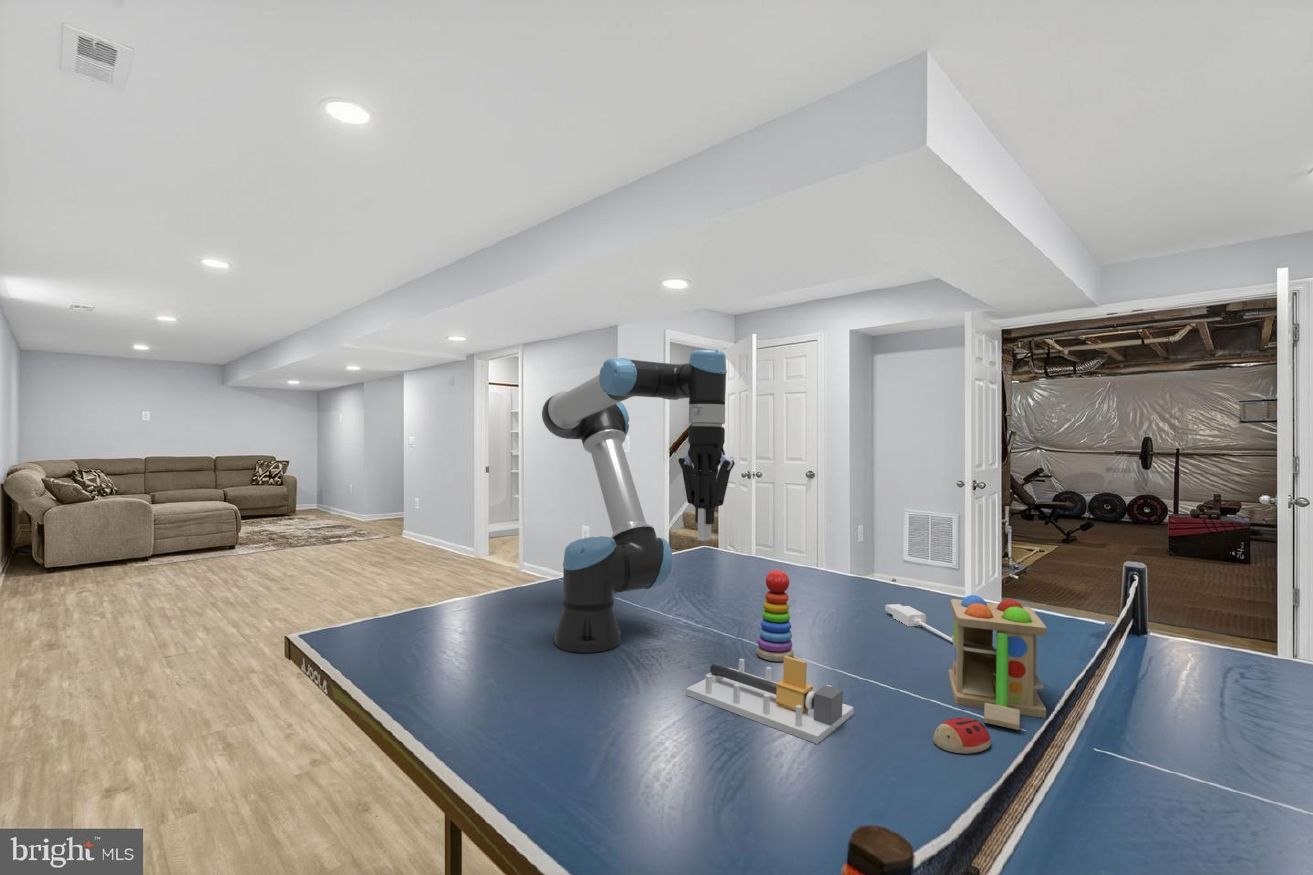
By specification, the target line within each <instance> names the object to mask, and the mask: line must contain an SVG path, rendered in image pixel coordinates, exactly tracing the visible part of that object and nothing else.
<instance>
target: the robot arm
mask: <svg viewBox="0 0 1313 875" xmlns="http://www.w3.org/2000/svg"><path fill="white" fill-rule="evenodd" d="M689 355H690V356H689V361H688V363H680V364H679V363H677V364H676V363H668V362H667V363H666V362H655V361H646V360H640V359H639V360H636V359H631V358H630V359H629V358H625V357H624V358H623V357H621V358H613V357H612V358H608V359H606V360H605V361H604V362H603V363H602V366H601V368H600V370H599V374H598V375H595V376H594V377H593V378H590V379H589V380H587V381H585V382H583V383H582V384H580V385H578V386H576V387H574V388H573V389H571V390H569V391H560V392H556V393H555V394H553V395H552V396H550V397H549V398H548V399H546V401H545V403H544V404H543V407H542V409H541V410H542V411H541V418H542V422H543V424H544V426H545V428H546V429H547V431H549V432H550V433H551V434H552V435H554V436H556V437H558V438H562V439H565V440H581V442H582V446H583V449H584V450H585V451H586V452H588V453H590V455H591V457H592V462H593V464H594V469H595V472H596V475H597V480H598V482H599V487H600V490H601V494H602V498H603V501H604V505H605V508H606V512H607V515H608V519H609V523H610V524H609V525H610V527H611V531H612V535H611V536H601V535H600V536H596V537H595V536H591V537H590V536H589V537H585V538H580V539H577V540H574V541H571V542H570V543H569V544H567V546H566V547H565V549H564V555H563V562H562V567H563V574H562V576H563V578H562V579H563V584H562V585H563V586H562V589H563V590H562V591H563V592H562V593H563V594H562V595H563V596H562V597H563V598H562V611H561V613H560V618H559V621H558V625H557V627H556V628H555V631H554V645H555V646H556V647H557V648H559V649H561V650H564V651H566V652H573V653H579V654H580V653H581V654H585V653H587V654H589V653H590V654H591V653H601V652H605V651H610V650H612V649H614V648H616V647H618V646H619V645H621V641H622V631H621V628H620V626H619V621H618V619H617V614H616V611H615V604H614V603H615V594H616V593H624V592H629V591H630V592H632V591H638V590H644V589H645V590H649V589H651V588H655V587H661V586H662V585H663V584H665V583H666V582H667V580H668V579H669V577H670V575H671V570H672V567H673V552H672V548H671V546H670V543H669V542H668V541H667V540H666V539H665V538H662V537H657V533H656V529H655V528H654V526H652V525H650V524H649V523H647V522H646V518H645V516H644V511H643V508H642V506H641V502H640V498H639V496H638V493H637V489H636V488H637V487H636V486H635V482H634V479H633V476H632V472H631V469H630V465H629V463H628V458H627V456H626V452H625V449H624V446H623V444H624V442H625V441H626V438H627V437H626V436H627V435H628V433H629V428H630V424H629V422H630V417H629V413H628V410H627V407H625V405H624V404H623V402H622V401H625V400H628V399H630V398H633V397H645V398H660V399H664V400H668V401H669V400H670V401H671V400H672V401H678V400H679V399H680V400H681V399H682V400H683V399H688V423H689V424H690V425H691V426H689V427H688V432H687V433H688V435H687V437H688V438H687V439H688V440H687V442H688V445H689V449H688V451H687V454H686V455H685V456H684V457H680V458H678V464H679V466H680V468H681V472H682V477H683V484H684V490H685V493H686V494H685V495H686V500H687V501H686V502H687V504H690V505H692V506H694V507H695V510H694V512H695V514H694V516H695V517H694V518H695V519H694V520H695V523H697V541H702V542H704V541H709V540H712V525H714V523H715V510H716V508H717V507H720V506H723V505H724V501H725V497H726V492H727V488H728V484H729V479H730V476H731V475H730V474H731V471H732V469H733V468H734V466H735V464H736V463H735V460H733V459H729V458H728V457H727V456H726V453H725V450H724V446H725V445H724V444H725V439H726V438H725V436H726V430H725V429H726V428H725V427H724V426H723V425H724V424H725V423H726V391H727V389H726V386H727V373H728V370H727V357H726V354H725V353H724V352H723V351H722V350H716V349H698V350H697V349H696V350H692V352H691V353H690V354H689Z"/></svg>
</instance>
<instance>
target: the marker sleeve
mask: <svg viewBox="0 0 1313 875" xmlns="http://www.w3.org/2000/svg"><path fill="white" fill-rule="evenodd" d="M782 664H783V665H782V666H783V667H782V668H783V672H782V673H783V674H782V680H781V681H778V682H776V683H777V688H776V704H778V705H781V706H784V707H787V708H790V709H793V710H796V706H797V705H800V706H803V707H802V713H803V712H804V711H806V710H807V708H806V705H805V704H804V694H805V693H807V694H808V692H809V691H813V687H814V686H813V685H812V684H808V683H807V669H808V668H807V666H808V661H805V660H803V659H799V658H796V657H795V658H794V657H788V656H785V657H784V661H783V663H782ZM813 692H814V691H813Z"/></svg>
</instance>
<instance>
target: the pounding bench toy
mask: <svg viewBox="0 0 1313 875" xmlns="http://www.w3.org/2000/svg"><path fill="white" fill-rule="evenodd" d="M950 609H951V612H952V615H953V634H952V635H951V638H952V641H953V642H952V645H953V646H952V648H953V649H952V650H953V652H952V653H953V654H952V655H953V658H952V660H953V662H952V668H948V679H949V684H950V686H951V687H950V688H951V692H952V695H953V699H954V702H955V704H956V705H958V706H963V707H967V708H968V707H969V708H977V709H983V714H984V715H983V723H984V724H985V723H986V724H989V725H994V726H999V727H1002V728H1007V729H1011V730H1016V731H1019V730H1020V726H1021V723H1020V722H1021V721H1020V720H1021V719H1020V718H1021V715H1023V716H1029V717H1033V718H1035V717H1036V718H1040V717H1041V718H1042V719H1046V718H1047V708H1046V707H1045V705H1044V702H1043V701H1042V700H1041V698H1040V696H1039V694H1038V693H1037V692H1038V690H1041V689H1042V690H1043V689H1044V685H1043V683H1042V681H1041V679H1040V678H1039V676H1038V674H1037V673H1038V672H1037V671H1038V669H1037V666H1038V664H1037V661H1038V660H1037V658H1038V654H1037V653H1038V652H1037V651H1038V645H1037V644H1038V640H1037V639H1038V637H1037V636H1039V637H1040V636H1043V637H1045V636H1047V633H1048V631H1047V629H1048V628H1047V626H1046V625H1045V623H1044V622H1043V621H1042V620H1041V618H1040V617H1039V616H1038V614H1037V613H1036V612H1035V611H1034V610H1033V609H1032V608H1031V607H1030V606H1023V605H1022V603H1020V602H1019V601H1017V600H1015V599H1011V598H1010V599H1008V598H1007V599H1004V600H1001V601H1000V602H999V603H990V602H986V600H984V598H982V597H980V596H979V595H976V594H975V595H974V594H972V595H967V596H965V597H963V599H957V598H951V600H950ZM994 631H996V648H995V646H994V645H993V644H994V643H993V642H994V641H993V640H994Z"/></svg>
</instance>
